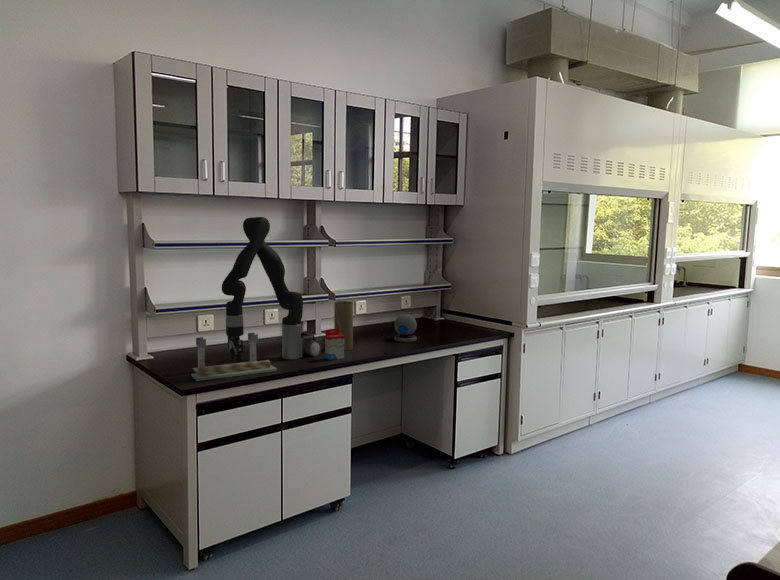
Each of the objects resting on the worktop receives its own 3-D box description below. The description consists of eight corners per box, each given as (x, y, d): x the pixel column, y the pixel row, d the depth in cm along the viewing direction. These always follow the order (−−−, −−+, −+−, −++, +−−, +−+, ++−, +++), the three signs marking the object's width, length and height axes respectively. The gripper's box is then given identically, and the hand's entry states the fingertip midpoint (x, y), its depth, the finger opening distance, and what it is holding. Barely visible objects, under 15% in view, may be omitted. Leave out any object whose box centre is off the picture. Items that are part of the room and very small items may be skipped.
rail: (268, 366, 272) (267, 359, 271) (270, 367, 269) (270, 361, 269) (197, 374, 255) (197, 368, 254) (199, 376, 252) (199, 369, 252)
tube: (344, 345, 325) (344, 300, 322) (356, 348, 318) (356, 302, 315) (330, 348, 317) (330, 302, 314) (342, 351, 310) (343, 304, 308)
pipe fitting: (323, 354, 300) (320, 334, 299) (311, 358, 294) (308, 338, 293) (307, 353, 308) (304, 334, 307) (295, 357, 302) (293, 337, 301)
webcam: (418, 338, 348) (418, 313, 347) (413, 342, 336) (414, 316, 334) (397, 336, 351) (397, 312, 350) (391, 340, 339) (392, 315, 337)
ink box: (329, 360, 289) (329, 331, 287) (324, 358, 293) (324, 329, 291) (344, 358, 294) (344, 329, 292) (339, 356, 298) (339, 328, 296)
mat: (269, 366, 275) (269, 364, 275) (276, 370, 268) (276, 368, 268) (191, 376, 256) (191, 373, 256) (196, 381, 249) (196, 378, 249)
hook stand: (256, 362, 282) (256, 331, 280) (262, 366, 276) (261, 334, 274) (192, 370, 266) (191, 337, 265) (197, 374, 260) (196, 340, 258)
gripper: (248, 326, 256) (249, 362, 258) (237, 321, 267) (238, 356, 270) (231, 328, 252) (232, 365, 254) (221, 322, 263) (222, 358, 266)
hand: (235, 360), depth 262 cm, fingers open, 8 cm apart
